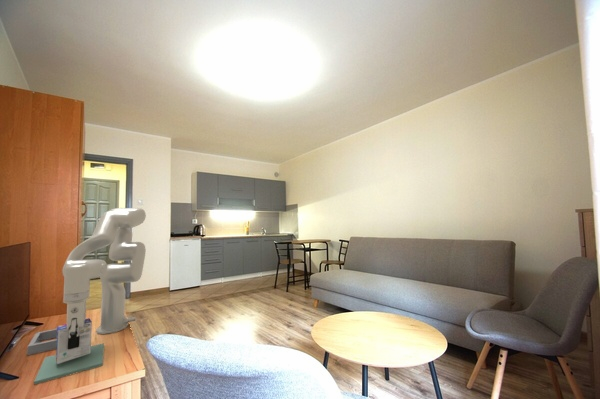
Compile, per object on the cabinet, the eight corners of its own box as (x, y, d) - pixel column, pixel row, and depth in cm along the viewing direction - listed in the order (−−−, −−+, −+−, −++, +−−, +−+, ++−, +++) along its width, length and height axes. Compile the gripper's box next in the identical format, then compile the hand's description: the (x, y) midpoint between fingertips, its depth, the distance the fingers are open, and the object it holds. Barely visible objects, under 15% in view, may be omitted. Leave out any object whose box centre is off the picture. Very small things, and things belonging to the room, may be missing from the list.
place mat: (103, 345, 109) (103, 343, 109) (102, 365, 95) (102, 362, 95) (45, 359, 99) (45, 357, 99) (33, 384, 84) (33, 381, 84)
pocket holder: (80, 331, 123) (80, 323, 123) (76, 344, 111) (77, 335, 111) (36, 340, 114) (36, 332, 114) (27, 355, 102) (27, 346, 102)
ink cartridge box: (88, 348, 103) (90, 311, 103) (91, 353, 99) (93, 315, 100) (54, 359, 95) (56, 319, 96) (56, 365, 91) (58, 323, 92)
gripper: (87, 300, 94) (85, 350, 93) (90, 289, 107) (88, 332, 106) (59, 304, 89) (57, 357, 88) (66, 292, 103) (64, 338, 102)
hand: (74, 343), depth 97 cm, fingers closed on ink cartridge box, 6 cm apart
